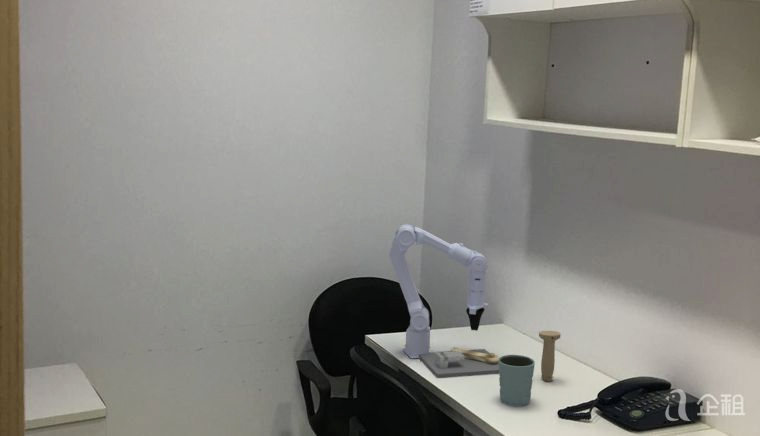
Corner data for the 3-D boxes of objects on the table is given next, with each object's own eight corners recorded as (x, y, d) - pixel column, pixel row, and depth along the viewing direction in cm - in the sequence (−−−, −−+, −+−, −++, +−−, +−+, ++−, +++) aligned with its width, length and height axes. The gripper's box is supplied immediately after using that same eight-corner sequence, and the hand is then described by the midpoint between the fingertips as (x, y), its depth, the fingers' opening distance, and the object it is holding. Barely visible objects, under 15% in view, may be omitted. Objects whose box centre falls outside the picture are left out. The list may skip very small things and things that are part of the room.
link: (501, 360, 243) (501, 353, 243) (495, 364, 239) (496, 357, 239) (455, 351, 251) (455, 344, 251) (449, 355, 247) (449, 347, 247)
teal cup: (539, 403, 213) (542, 362, 211) (513, 410, 208) (515, 368, 206) (515, 391, 222) (517, 352, 220) (489, 397, 216) (491, 357, 214)
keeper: (458, 361, 242) (458, 351, 242) (464, 367, 237) (464, 356, 237) (435, 363, 240) (435, 352, 240) (440, 368, 235) (440, 357, 235)
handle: (559, 382, 230) (562, 335, 227) (539, 383, 229) (542, 335, 226) (553, 376, 234) (556, 330, 232) (534, 377, 233) (537, 330, 231)
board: (417, 356, 250) (417, 353, 250) (484, 352, 256) (484, 348, 256) (437, 377, 231) (437, 374, 230) (509, 372, 237) (509, 369, 237)
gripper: (485, 296, 240) (483, 337, 242) (491, 286, 253) (489, 325, 255) (463, 294, 241) (462, 335, 243) (470, 284, 255) (468, 322, 257)
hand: (474, 329), depth 250 cm, fingers closed
